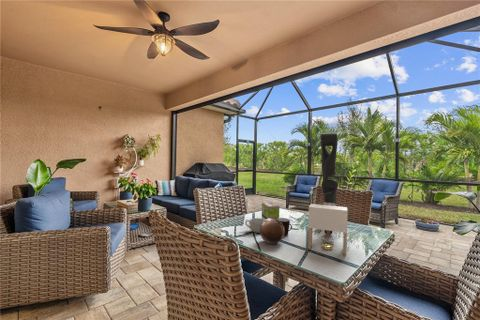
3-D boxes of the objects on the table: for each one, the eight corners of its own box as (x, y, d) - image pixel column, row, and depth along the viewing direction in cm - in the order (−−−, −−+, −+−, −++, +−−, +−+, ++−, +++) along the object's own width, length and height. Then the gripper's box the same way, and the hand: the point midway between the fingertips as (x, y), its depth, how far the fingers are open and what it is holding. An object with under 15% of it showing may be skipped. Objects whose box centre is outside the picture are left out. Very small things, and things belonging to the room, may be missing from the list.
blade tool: (323, 232, 160) (323, 224, 160) (333, 234, 157) (334, 225, 157) (321, 242, 140) (321, 233, 140) (333, 244, 137) (333, 234, 137)
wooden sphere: (254, 241, 140) (254, 217, 140) (271, 236, 149) (272, 214, 149) (271, 249, 128) (272, 223, 128) (289, 244, 137) (290, 219, 137)
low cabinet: (309, 242, 140) (310, 203, 140) (345, 248, 132) (346, 207, 132) (307, 248, 131) (309, 206, 130) (346, 255, 123) (347, 210, 123)
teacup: (266, 230, 163) (266, 219, 162) (263, 234, 152) (263, 223, 152) (247, 227, 167) (248, 217, 167) (243, 232, 157) (243, 220, 157)
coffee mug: (275, 232, 158) (275, 217, 158) (287, 232, 159) (287, 217, 159) (279, 238, 147) (280, 222, 147) (292, 238, 147) (293, 222, 147)
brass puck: (327, 245, 136) (327, 243, 136) (334, 249, 130) (334, 247, 130) (319, 247, 134) (319, 244, 134) (326, 251, 128) (326, 248, 128)
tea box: (261, 219, 190) (261, 202, 190) (272, 219, 192) (272, 201, 192) (267, 225, 175) (267, 205, 175) (279, 224, 178) (280, 205, 177)
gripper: (317, 208, 154) (317, 234, 155) (340, 211, 149) (339, 237, 149) (318, 206, 161) (318, 230, 161) (340, 208, 156) (339, 233, 156)
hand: (328, 233), depth 155 cm, fingers closed on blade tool, 2 cm apart
